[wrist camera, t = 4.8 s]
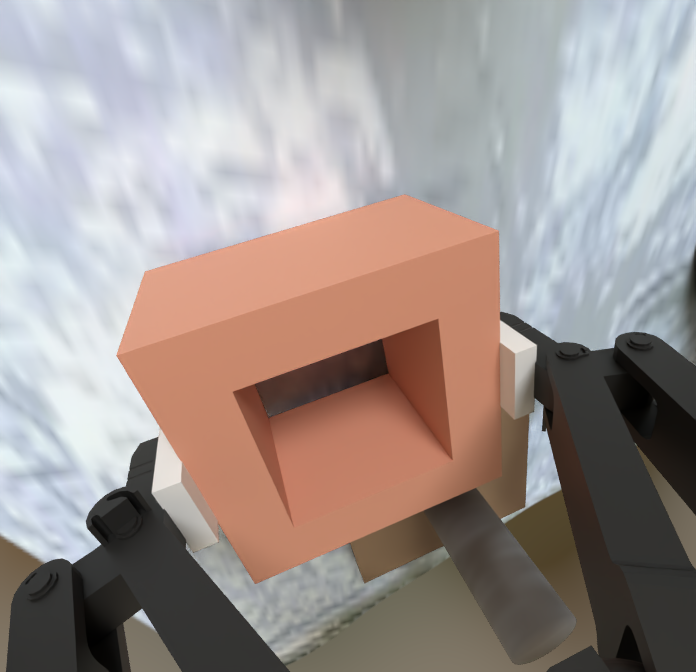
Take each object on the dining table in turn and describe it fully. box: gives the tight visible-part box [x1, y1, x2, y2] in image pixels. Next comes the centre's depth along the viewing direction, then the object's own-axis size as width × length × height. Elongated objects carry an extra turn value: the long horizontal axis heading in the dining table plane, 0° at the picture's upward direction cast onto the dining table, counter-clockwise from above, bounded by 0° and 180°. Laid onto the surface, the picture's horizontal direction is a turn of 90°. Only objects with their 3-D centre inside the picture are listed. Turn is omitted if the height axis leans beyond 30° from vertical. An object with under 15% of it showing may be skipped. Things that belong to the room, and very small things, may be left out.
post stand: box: [350, 407, 576, 665], centre depth 21 cm, size 12×12×10 cm
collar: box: [116, 195, 502, 584], centre depth 15 cm, size 10×10×6 cm
